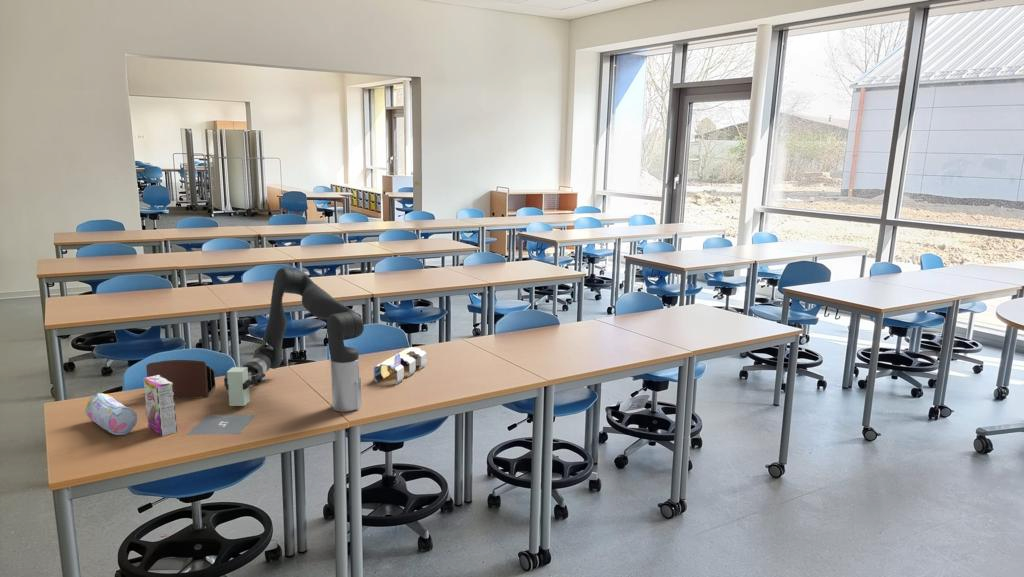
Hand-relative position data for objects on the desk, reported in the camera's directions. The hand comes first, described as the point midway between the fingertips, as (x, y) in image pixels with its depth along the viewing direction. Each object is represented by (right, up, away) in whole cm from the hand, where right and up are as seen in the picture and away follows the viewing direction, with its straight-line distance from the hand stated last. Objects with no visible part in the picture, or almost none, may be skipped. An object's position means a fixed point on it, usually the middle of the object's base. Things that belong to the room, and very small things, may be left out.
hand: (235, 386), depth 219 cm
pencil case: (-33, -11, -14) cm, 37 cm away
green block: (0, -6, +4) cm, 7 cm away
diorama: (+48, -2, +42) cm, 64 cm away
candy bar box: (-16, -11, -15) cm, 25 cm away
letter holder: (-26, -5, +17) cm, 31 cm away
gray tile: (0, -10, -11) cm, 15 cm away
